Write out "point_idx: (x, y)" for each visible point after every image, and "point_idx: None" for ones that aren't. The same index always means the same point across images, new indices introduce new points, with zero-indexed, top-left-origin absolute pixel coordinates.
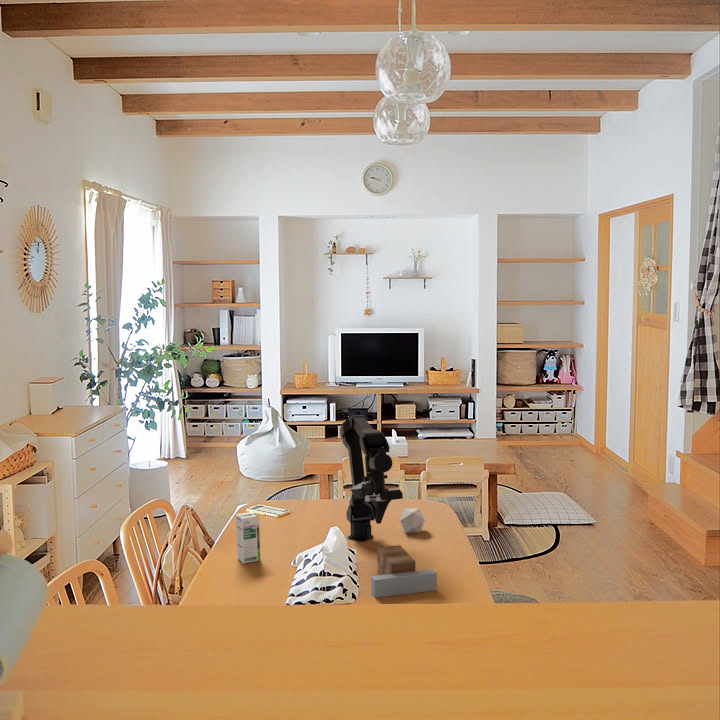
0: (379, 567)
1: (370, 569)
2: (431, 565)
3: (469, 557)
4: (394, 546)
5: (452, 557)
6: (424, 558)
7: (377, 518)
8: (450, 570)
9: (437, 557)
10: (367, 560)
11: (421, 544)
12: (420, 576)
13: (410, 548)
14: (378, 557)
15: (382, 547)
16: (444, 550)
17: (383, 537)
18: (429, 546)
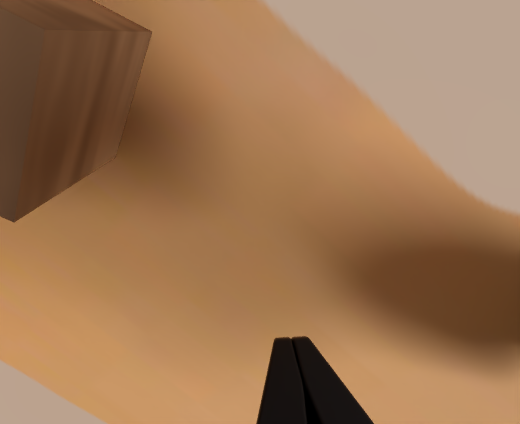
0: (87, 9)
1: (228, 40)
2: (94, 292)
3: (91, 413)
4: (2, 169)
5: (123, 387)
6: (177, 328)
7: (276, 393)
8: (12, 299)
9: (154, 361)
10: (353, 133)
11: None
12: None
13: None
14: (69, 17)
15: (23, 70)
16: (197, 417)
17: (508, 399)
18: None
